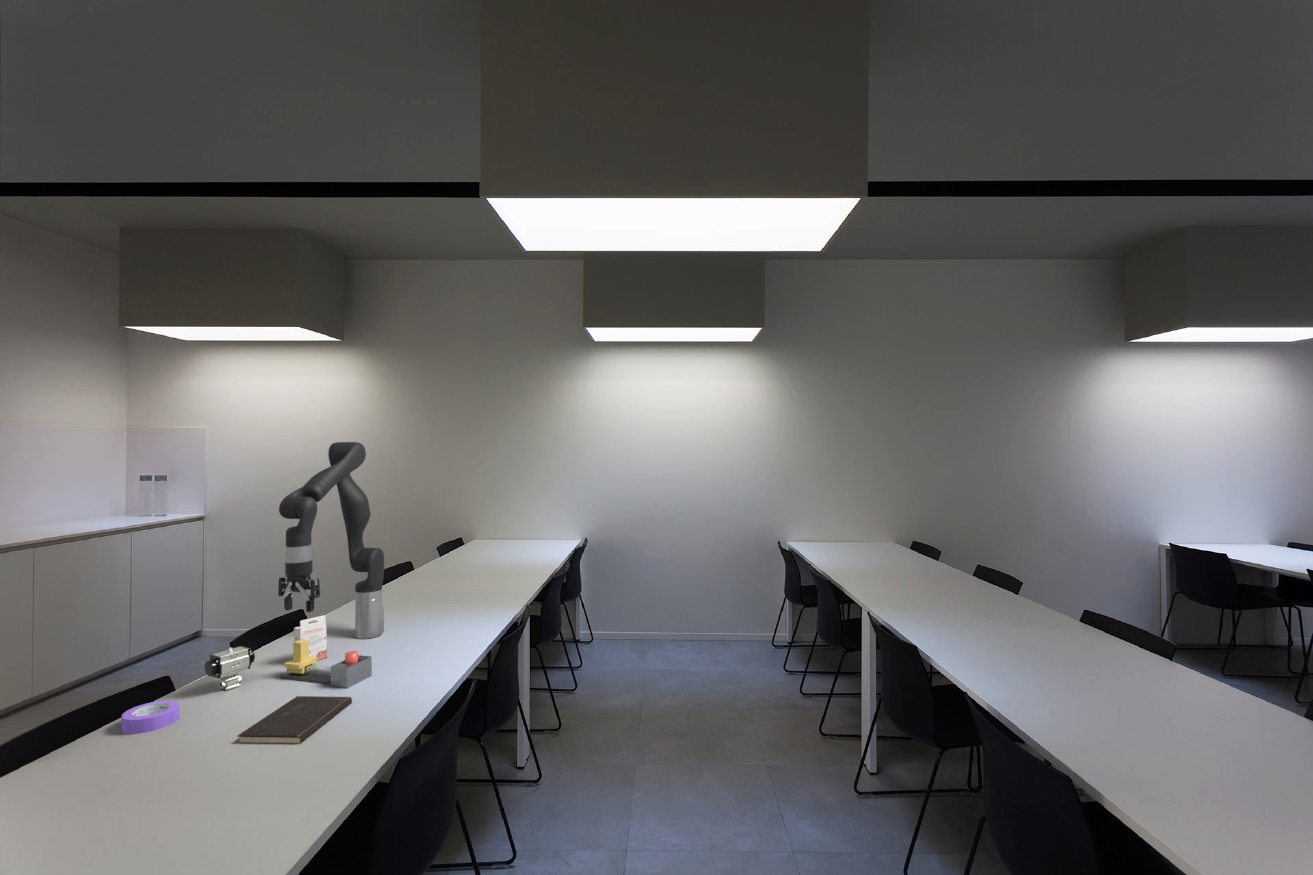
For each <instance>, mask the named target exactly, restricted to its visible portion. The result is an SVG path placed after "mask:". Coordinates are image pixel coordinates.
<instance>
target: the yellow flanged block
mask: <svg viewBox="0 0 1313 875" xmlns="http://www.w3.org/2000/svg"><path fill="white" fill-rule="evenodd" d="M318 661H319V660H318V657H310V656H309V640H302V639H301V640H298V641H296V642H294V641H292V659H291V660H288V661H286V662H284V663H283V668H286V672H290V673H298V674H303V673H305V666H307V665H310V664H311V665H316V662H318Z"/></svg>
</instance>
